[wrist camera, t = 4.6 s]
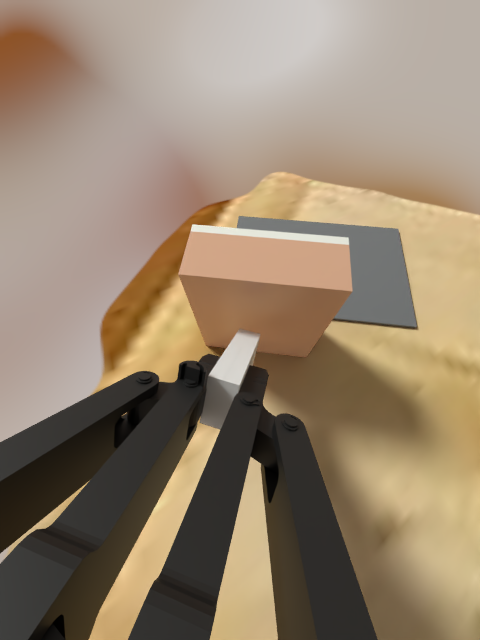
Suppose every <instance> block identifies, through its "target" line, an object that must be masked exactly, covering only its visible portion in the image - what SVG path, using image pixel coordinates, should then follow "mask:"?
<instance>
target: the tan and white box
mask: <svg viewBox="0 0 480 640" xmlns="http://www.w3.org/2000/svg"><path fill="white" fill-rule="evenodd" d="M178 275H179V277H180V280H181V282H182V285H183V287H184V290H185V293H186V295H187V298H188V300H189V303H190V306H191V308H192V311H193V313H194V316H195V318H196V321H197V324H198V326H199V329H200V331H201V334H202V337H203V339H204V342H205V344H206V346H213V347H222V348H227V347H228V345H229V344H230V342H231V341H232V339H233V338H234V336H235V335H236V333H237V332H238V330H239V329H244V330H247V331H251V332H255V333H259V334H261V335H260V339H259V343H258V347H257V351H256V352H264V353H273V354H281V355H290V356H298V357H307V355H308V354H309V353H310V351H311V350H312V348H313V347H314V346H315V344H316V343H317V341H318V340H319V338H320V337H321V336H322V334H323V333H324V331H325V330H326V328H327V327H328V326H329V324H330V323H331V321H332V320H333V318H334V317H335V316H336V314H337V313H338V311H339V310H340V308H341V307H342V306H343V304H344V303H345V301H346V300H347V298H348V297H349V296H350V294H351V293H352V291H353V290H352V277H351V264H350V250H349V238H348V237H336V236H324V235H312V234H300V233H288V232H276V231H264V230H252V229H240V228H228V227H216V226H204V225H192V228H191V232H190V235H189V239H188V242H187V246H186V249H185V253H184V256H183V260H182V263H181V267H180V270H179V274H178Z"/></svg>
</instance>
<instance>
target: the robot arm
mask: <svg viewBox="0 0 480 640" xmlns="http://www.w3.org/2000/svg"><path fill="white" fill-rule="evenodd" d="M260 335H261V334H259V333H255V332H251V331H247V330H244V329H239V330H238V332H237V333H236V335H235V336H234V338H233V339H232V341H231V342H230V344H229V345H228V347H227V348H226V350H225V351H224V353H223V354H222V356H221V357H218V356H215V355H211V354H207V355H205V356H203V357H202V358H201V359H200V360H199V362H197V361H185V362H182V363H180V364H179V372H178V379H177V380H176V381H175V382H174V383H167V382H159V377H158V375H156V374H155V373H153V372H149V371H140V372H136V373H134V374H132V375H130V376H128V377H126V378H124V379H122V380H120V381H118V382H116V383H114V384H112V385H110V386H109V387H107V388H105V389H103V390H101V391H99V392H97V393H95V394H93V395H91V396H89V397H87V398H85V399H83V400H81V401H79V402H78V403H76V404H74V405H72V406H70V407H68V408H66V409H64V410H62V411H60V412H58V413H56V414H54V415H52V416H50V417H48V418H47V419H45V420H43V421H41V422H39V423H37V424H35V425H33V426H31V427H29V428H27V429H25V430H23V431H22V432H20V433H18V434H16V435H14V436H12V437H10V438H8V439H6V440H4V441H2V442H0V553H1V552H3V551H4V550H5V549H6V548H7V547H9V546H10V545H11V544H12V543H14V542H15V541H16V540H17V539H18V538H20V537H21V536H22V535H23V534H25V533H26V532H27V531H28V530H29V529H31V528H32V527H33V526H34V525H36V524H37V523H38V522H39V521H40V520H42V519H43V518H44V517H45V516H47V515H48V514H49V513H50V512H51V511H53V510H54V509H55V508H56V507H58V506H59V505H60V504H61V503H62V502H64V501H65V500H66V499H67V498H69V497H70V496H71V495H72V494H74V493H75V492H76V491H77V490H78V489H80V488H81V487H82V486H83V485H85V484H86V483H87V482H88V481H89V480H90V481H89V482H88V483H87V485H86V486H85V487H84V488H83V489H82V490H81V492H80V493H79V494H78V495H77V496H76V497H75V499H74V500H73V501H72V502H71V503H70V504H69V505H68V507H67V508H66V509H65V510H64V511H63V512H62V514H61V515H60V516H59V517H58V518H57V519H56V521H55V522H54V523H53V524H52V525H51V526H49V527H48V528H46V529H37V530H35V531H34V532H32V533H31V534H29V535H28V536H27V537H26V538H24V539H23V540H22V541H21V542H20V543H19V544H18V545H17V546H16V547H15V548H14V550H13V551H12V552H11V553H10V554H9V555H8V556H7V557H6V558H5V559H4V560H3V562H2V563H1V564H0V640H88V639H89V637H90V635H91V632H92V629H93V626H94V623H95V620H96V617H97V615H98V613H99V610H100V608H101V606H102V604H103V602H104V601H105V599H106V597H107V595H108V593H109V591H110V589H111V587H112V586H113V584H114V582H115V580H116V578H117V576H118V574H119V573H120V571H121V569H122V567H123V565H124V563H125V561H126V560H127V558H128V556H129V554H130V552H131V550H132V548H133V546H134V545H135V543H136V541H137V539H138V537H139V535H140V533H141V532H142V530H143V528H144V526H145V524H146V522H147V520H148V519H149V517H150V515H151V513H152V511H153V509H154V507H155V505H156V504H157V502H158V500H159V498H160V496H161V494H162V492H163V491H164V489H165V487H166V485H167V483H168V481H169V479H170V478H171V476H172V474H173V472H174V470H175V468H176V466H177V464H178V463H179V461H180V459H181V457H182V455H183V453H184V451H185V450H186V448H187V446H188V444H189V442H190V440H191V438H192V437H193V435H194V433H195V431H196V428H197V422H198V420H199V418H200V416H201V419H200V423H202V424H205V425H208V426H211V427H214V428H217V429H220V433H219V435H218V437H217V440H216V442H215V444H214V447H213V449H212V452H211V454H210V456H209V459H208V461H207V464H206V466H205V468H204V471H203V473H202V476H201V478H200V480H199V483H198V485H197V488H196V490H195V492H194V495H193V497H192V500H191V502H190V504H189V507H188V509H187V512H186V514H185V516H184V519H183V521H182V524H181V526H180V528H179V531H178V533H177V536H176V538H175V540H174V543H173V545H172V547H171V550H170V552H169V555H168V557H167V559H166V562H165V564H164V567H163V569H162V571H161V573H160V575H159V577H158V578H157V579H156V580H155V581H154V583H153V585H152V586H151V588H150V590H149V592H148V595H147V597H146V599H145V601H144V604H143V606H142V608H141V610H140V613H139V615H138V617H137V620H136V622H135V624H134V627H133V629H132V631H131V634H130V636H129V638H128V640H209V639H210V635H211V631H212V626H213V622H214V617H215V612H216V606H217V600H218V595H219V591H220V586H221V582H222V578H223V573H224V569H225V565H226V560H227V556H228V552H229V547H230V543H231V539H232V534H233V530H234V526H235V521H236V517H237V513H238V508H239V504H240V499H241V495H242V491H243V486H244V482H245V478H246V473H247V469H248V465H249V460H250V456H251V457H252V458H254V459H255V460H257V461H258V462H260V463H261V474H262V483H263V493H264V503H265V513H266V523H267V533H268V543H269V553H270V563H271V573H272V583H273V592H274V602H275V612H276V622H277V632H278V640H378V639H377V636H376V634H375V631H374V628H373V625H372V622H371V619H370V616H369V613H368V610H367V607H366V604H365V601H364V598H363V595H362V592H361V589H360V587H359V584H358V581H357V578H356V575H355V572H354V569H353V566H352V563H351V560H350V557H349V554H348V551H347V548H346V545H345V542H344V540H343V537H342V534H341V531H340V528H339V525H338V522H337V519H336V516H335V513H334V510H333V507H332V504H331V501H330V498H329V495H328V492H327V490H326V487H325V484H324V481H323V478H322V475H321V472H320V469H319V466H318V463H317V460H316V457H315V454H314V451H313V448H312V445H311V443H310V440H309V437H308V434H307V431H306V428H305V426H304V424H303V422H302V421H301V420H300V419H298V418H297V417H295V416H293V415H290V414H279V415H277V417H275V416H274V415H272V414H271V413H269V412H268V411H267V410H266V409H265V408H264V406H263V397H264V393H265V389H266V384H267V380H268V376H269V375H268V373H267V371H266V370H265V369H262V368H258V367H255V366H253V363H254V359H255V355H256V351H257V347H258V343H259V339H260ZM126 412H127V413H126ZM125 413H126V414H125ZM123 414H125V415H123ZM122 415H123V416H122Z"/></svg>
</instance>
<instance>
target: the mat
mask: <svg viewBox="0 0 480 640" xmlns="http://www.w3.org/2000/svg"><path fill="white" fill-rule="evenodd" d="M237 228H240V229H252V230H264V231H276V232H288V233H300V234H312V235H324V236H336V237H348V238H349V250H350V264H351V277H352V290H353V291H352V293H351V294H350V296H349V297H348V298H347V300H346V301H345V303H344V304H343V306H342V307H341V308H340V310H339V311H338V313H337V314H336V316H335V317H334V318H333V319H335V320H344V321H353V322H363V323H372V324H382V325H391V326H400V327H410V328H416V327H417V324H416V319H415V314H414V309H413V303H412V298H411V293H410V288H409V282H408V277H407V272H406V267H405V262H404V256H403V251H402V246H401V241H400V235H399V230H398V229H393V228H381V227H369V226H356V225H344V224H331V223H319V222H306V221H294V220H281V219H269V218H257V217H244V216H239V219H238V224H237Z"/></svg>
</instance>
